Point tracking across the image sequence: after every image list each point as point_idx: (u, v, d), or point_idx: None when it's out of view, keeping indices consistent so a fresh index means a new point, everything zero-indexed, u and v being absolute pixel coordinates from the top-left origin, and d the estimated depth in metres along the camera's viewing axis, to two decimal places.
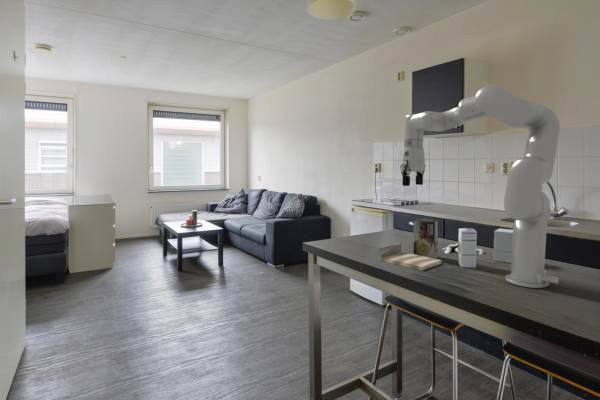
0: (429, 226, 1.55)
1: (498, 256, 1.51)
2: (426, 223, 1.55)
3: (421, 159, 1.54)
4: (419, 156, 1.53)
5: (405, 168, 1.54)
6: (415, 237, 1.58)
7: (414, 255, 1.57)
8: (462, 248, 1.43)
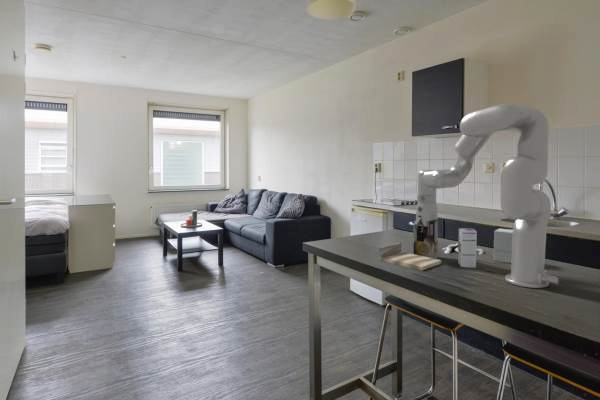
0: (429, 226, 1.55)
1: (498, 256, 1.51)
2: None
3: (434, 213, 1.57)
4: (432, 211, 1.56)
5: (418, 223, 1.57)
6: (415, 237, 1.59)
7: (414, 255, 1.57)
8: (462, 248, 1.43)
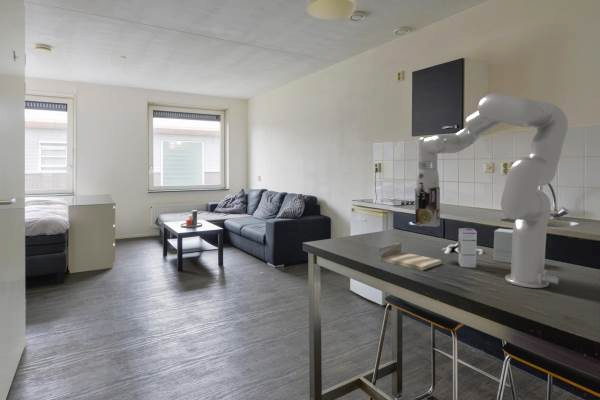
0: (431, 193, 1.53)
1: (498, 256, 1.51)
2: None
3: (435, 180, 1.55)
4: (433, 178, 1.54)
5: (420, 190, 1.55)
6: (417, 205, 1.57)
7: (414, 255, 1.57)
8: (462, 248, 1.43)
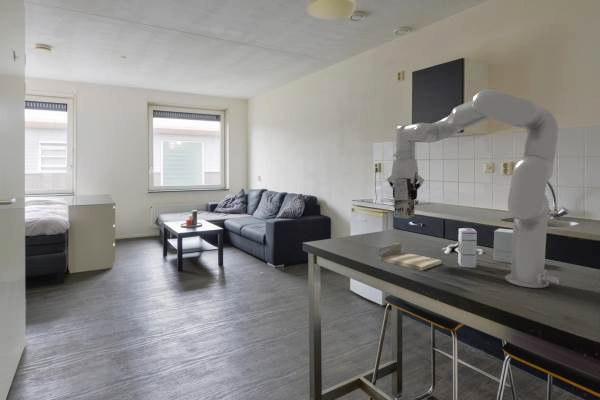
0: None
1: (498, 256, 1.51)
2: None
3: (404, 171, 1.49)
4: (401, 168, 1.50)
5: None
6: None
7: (414, 255, 1.57)
8: (462, 248, 1.43)
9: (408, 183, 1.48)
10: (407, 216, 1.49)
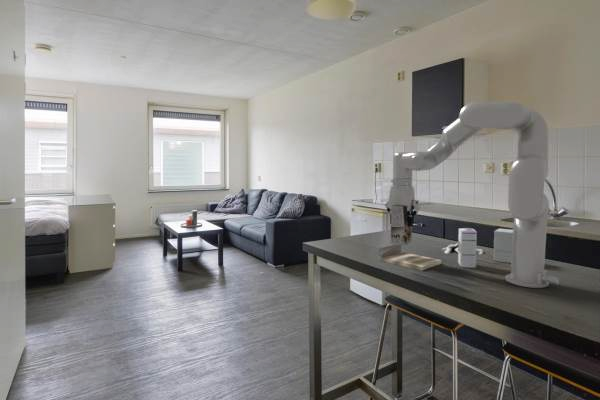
0: None
1: (498, 256, 1.51)
2: None
3: (401, 198, 1.50)
4: (397, 195, 1.51)
5: None
6: None
7: (414, 255, 1.57)
8: (462, 248, 1.43)
9: (404, 210, 1.48)
10: (403, 243, 1.50)
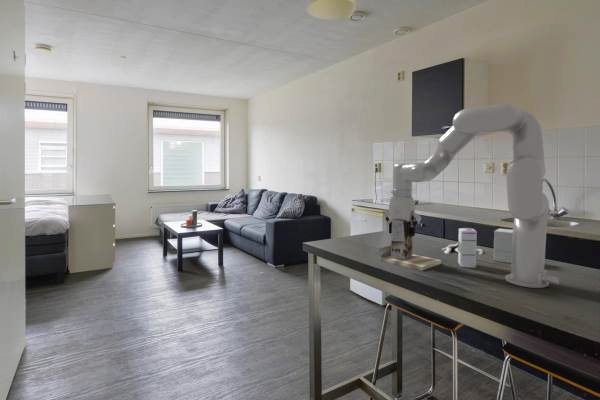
0: None
1: (498, 256, 1.51)
2: None
3: (400, 209, 1.50)
4: (397, 206, 1.51)
5: None
6: None
7: (414, 255, 1.57)
8: (462, 248, 1.43)
9: (404, 225, 1.49)
10: (403, 257, 1.50)
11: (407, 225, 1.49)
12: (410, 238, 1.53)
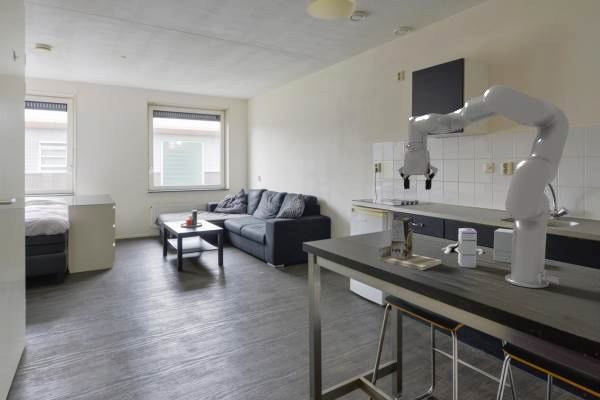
0: None
1: (498, 256, 1.51)
2: None
3: (416, 162, 1.49)
4: (413, 159, 1.50)
5: None
6: None
7: (414, 255, 1.57)
8: (462, 248, 1.43)
9: (404, 225, 1.49)
10: (403, 257, 1.50)
11: (407, 225, 1.49)
12: (410, 238, 1.53)
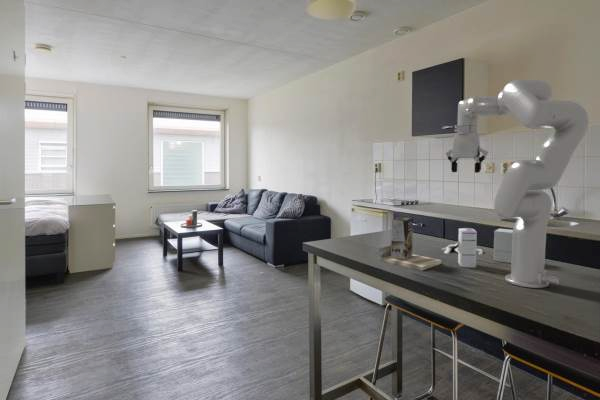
0: None
1: (498, 256, 1.51)
2: None
3: (466, 145, 1.51)
4: (462, 142, 1.52)
5: None
6: None
7: (414, 255, 1.57)
8: (462, 248, 1.43)
9: (404, 225, 1.49)
10: (403, 257, 1.50)
11: (407, 225, 1.49)
12: (410, 238, 1.53)
